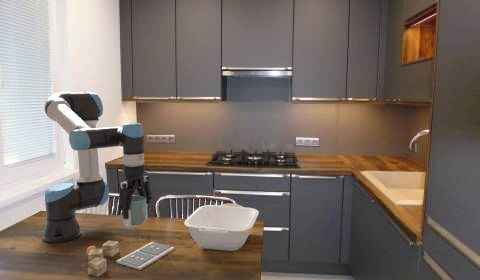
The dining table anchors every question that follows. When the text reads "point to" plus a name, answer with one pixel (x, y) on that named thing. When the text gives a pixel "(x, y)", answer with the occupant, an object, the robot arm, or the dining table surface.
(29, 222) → the dining table surface
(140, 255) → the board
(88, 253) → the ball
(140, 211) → the cup
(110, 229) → the dining table surface
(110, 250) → the block
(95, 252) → the block
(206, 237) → the baking dish
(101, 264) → the block
